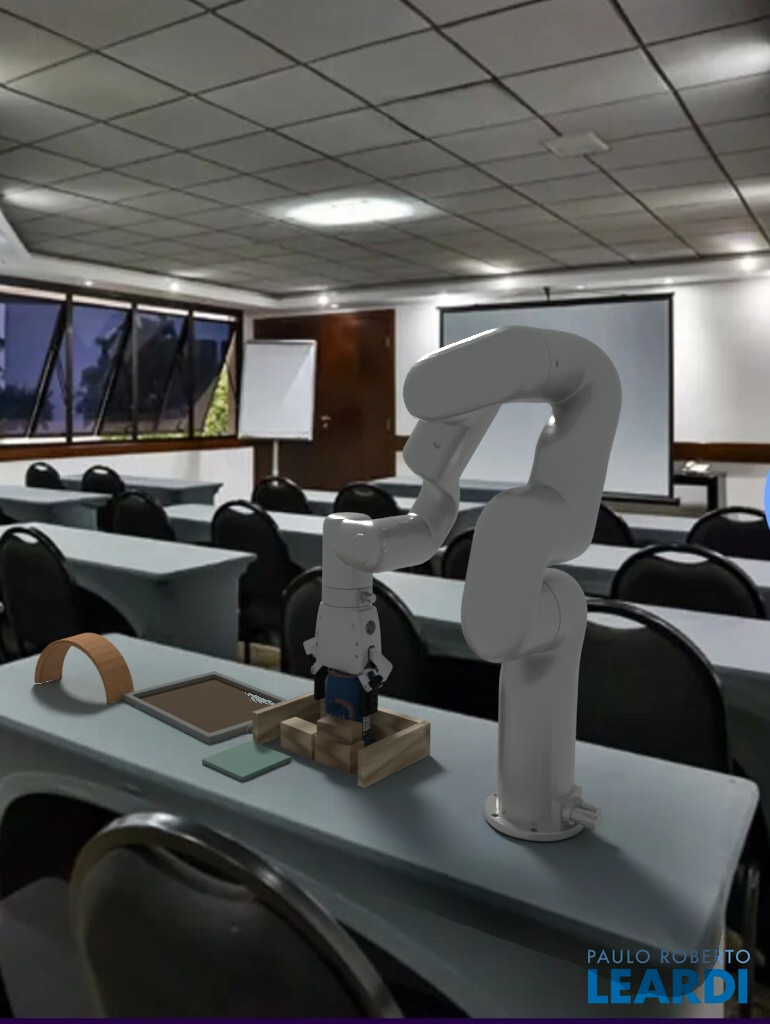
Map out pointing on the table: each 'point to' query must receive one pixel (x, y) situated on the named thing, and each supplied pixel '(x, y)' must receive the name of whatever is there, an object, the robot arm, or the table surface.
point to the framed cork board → (203, 705)
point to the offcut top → (339, 730)
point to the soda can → (346, 700)
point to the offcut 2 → (338, 754)
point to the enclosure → (393, 751)
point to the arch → (100, 654)
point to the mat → (246, 760)
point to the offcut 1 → (299, 736)
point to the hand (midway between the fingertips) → (345, 705)
